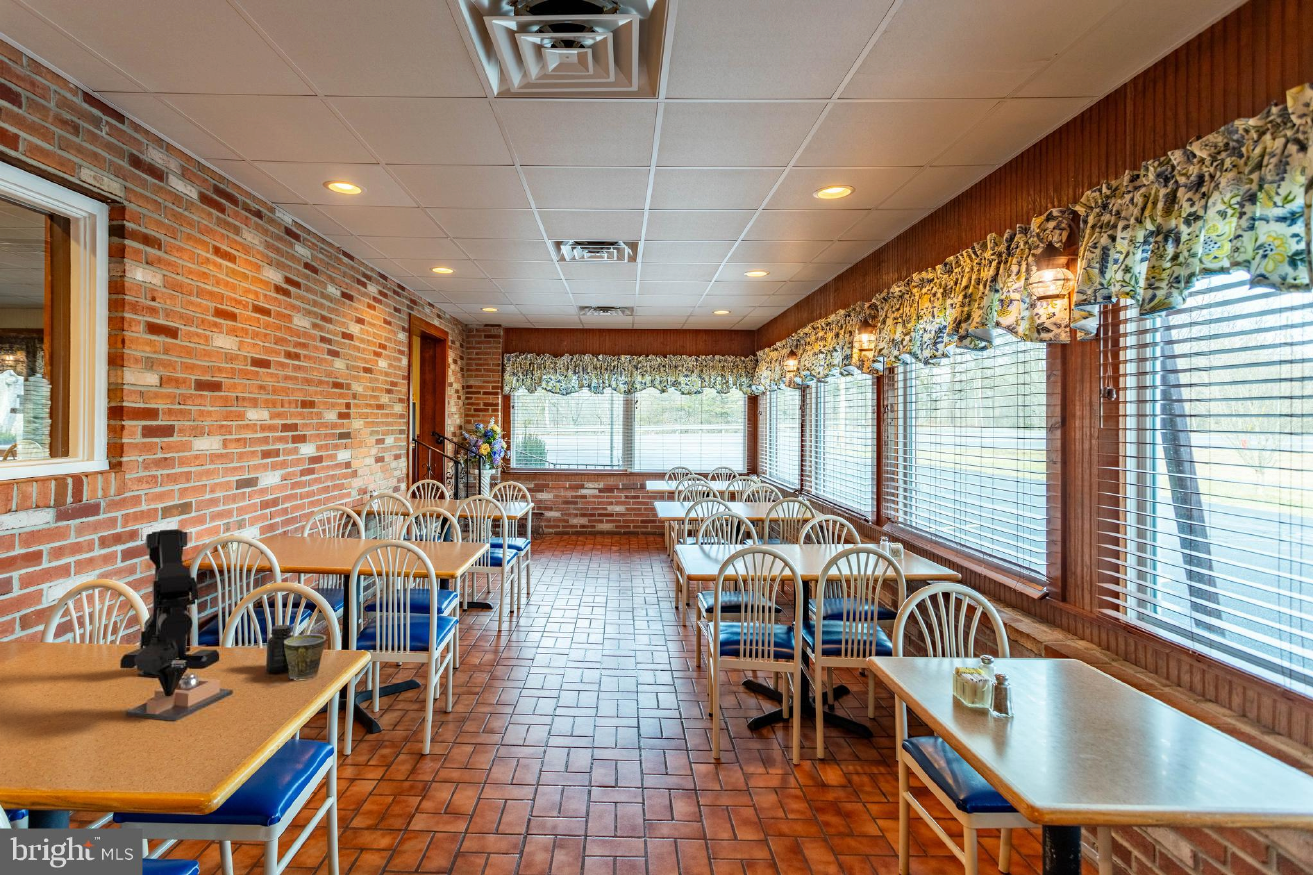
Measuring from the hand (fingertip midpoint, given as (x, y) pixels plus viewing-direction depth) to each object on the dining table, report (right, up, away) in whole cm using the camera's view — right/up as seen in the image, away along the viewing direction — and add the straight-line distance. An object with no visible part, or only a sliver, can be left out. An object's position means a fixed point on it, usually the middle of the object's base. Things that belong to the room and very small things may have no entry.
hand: (169, 695), depth 147 cm
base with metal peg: (-1, -4, +5) cm, 6 cm away
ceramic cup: (+18, -5, +23) cm, 30 cm away
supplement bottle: (+9, -5, +29) cm, 30 cm away
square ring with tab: (-1, -3, +4) cm, 5 cm away
